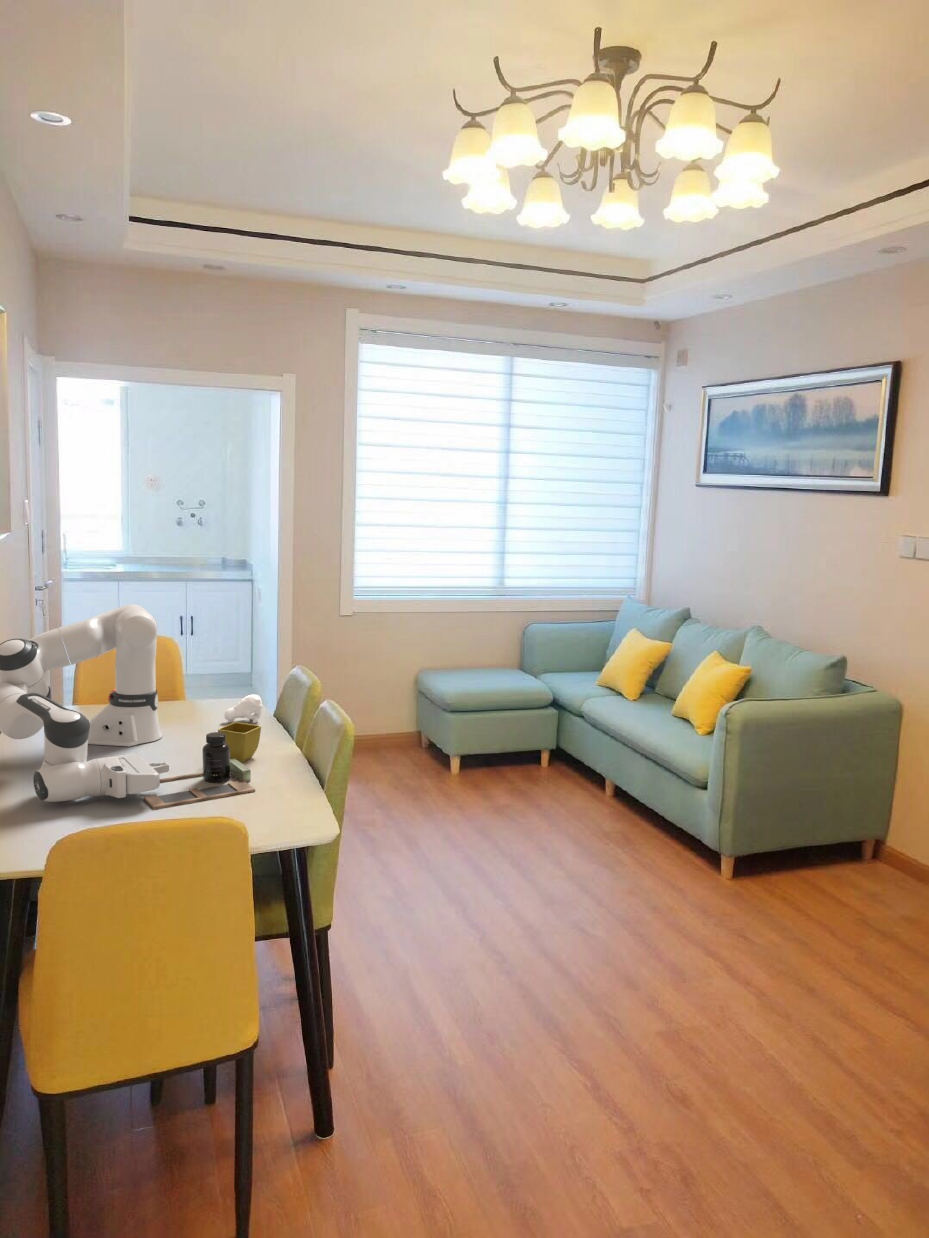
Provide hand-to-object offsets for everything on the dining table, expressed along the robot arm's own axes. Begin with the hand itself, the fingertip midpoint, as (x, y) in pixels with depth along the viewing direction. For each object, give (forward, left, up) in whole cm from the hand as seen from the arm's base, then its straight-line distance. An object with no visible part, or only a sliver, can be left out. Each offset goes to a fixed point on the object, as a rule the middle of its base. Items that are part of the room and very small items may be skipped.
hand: (167, 766), depth 228 cm
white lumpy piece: (+9, +63, -6) cm, 64 cm away
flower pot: (+14, +24, -6) cm, 29 cm away
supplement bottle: (+11, +7, -6) cm, 14 cm away
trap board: (+7, -1, -5) cm, 9 cm away
